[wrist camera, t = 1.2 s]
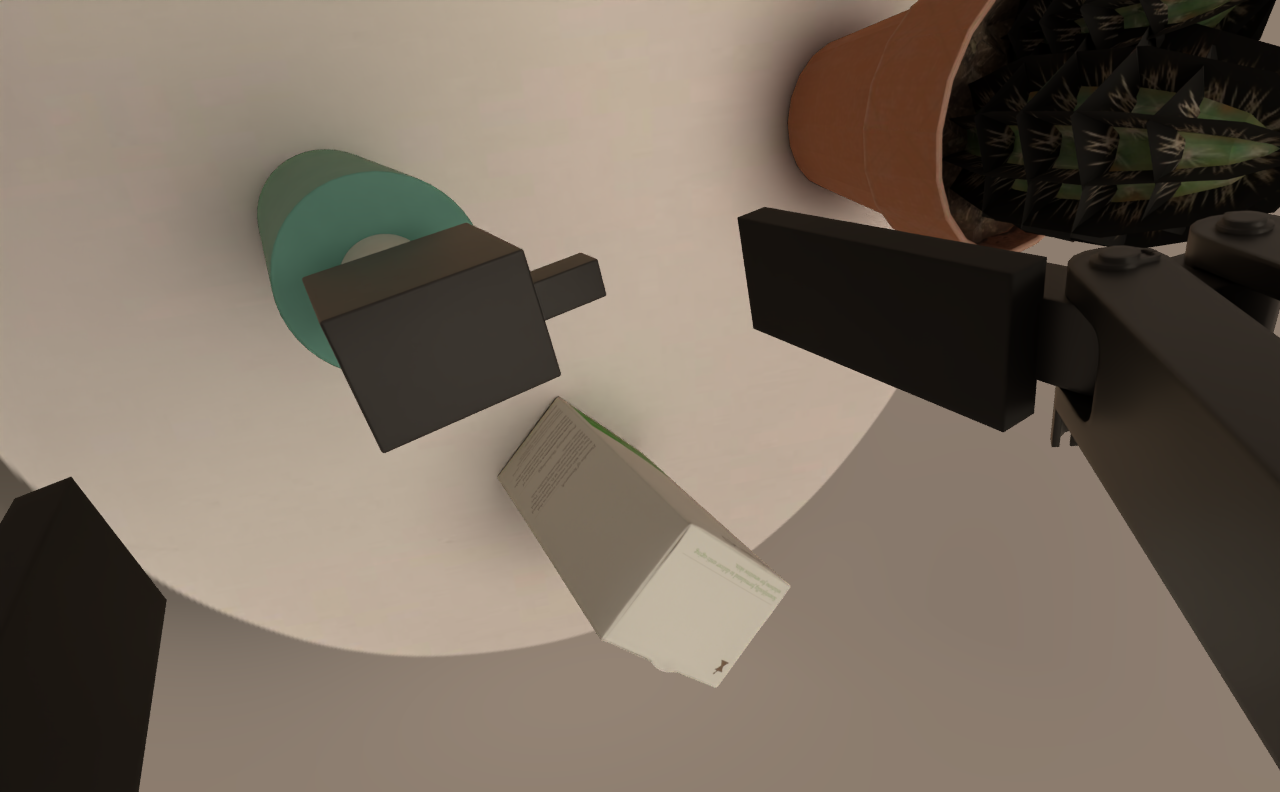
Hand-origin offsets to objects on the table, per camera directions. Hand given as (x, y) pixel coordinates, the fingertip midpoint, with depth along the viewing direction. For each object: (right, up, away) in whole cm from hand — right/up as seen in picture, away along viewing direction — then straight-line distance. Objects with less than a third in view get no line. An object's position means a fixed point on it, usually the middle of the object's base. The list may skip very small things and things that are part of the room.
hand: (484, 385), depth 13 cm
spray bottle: (-11, +8, +18) cm, 23 cm away
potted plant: (+16, +18, +30) cm, 39 cm away
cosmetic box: (-2, -5, +29) cm, 30 cm away
